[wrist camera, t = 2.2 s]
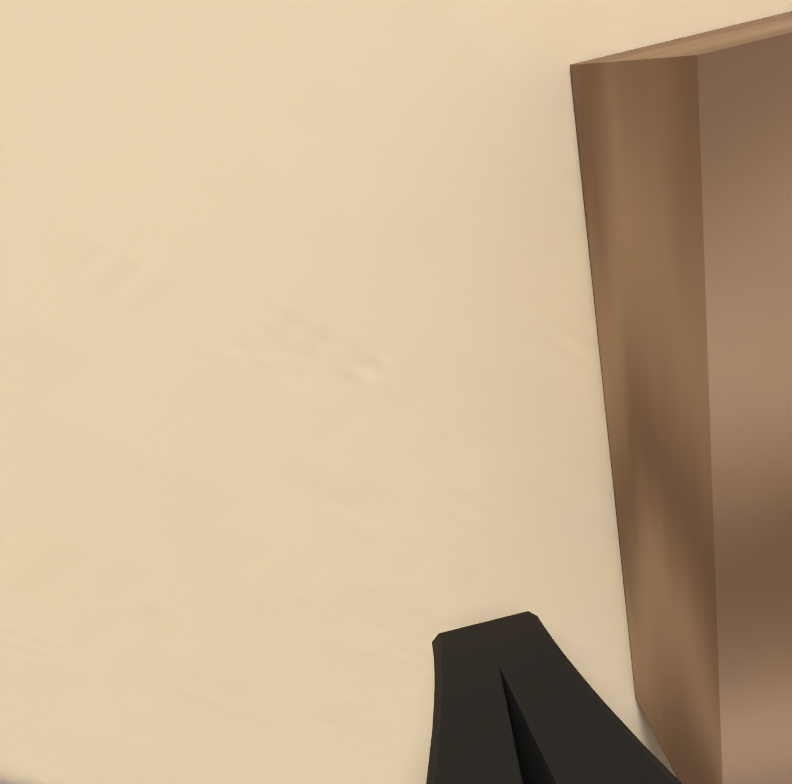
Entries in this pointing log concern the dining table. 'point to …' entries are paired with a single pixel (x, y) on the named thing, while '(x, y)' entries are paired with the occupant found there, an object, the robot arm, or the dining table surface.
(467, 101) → the dining table surface
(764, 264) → the brown wooden block
